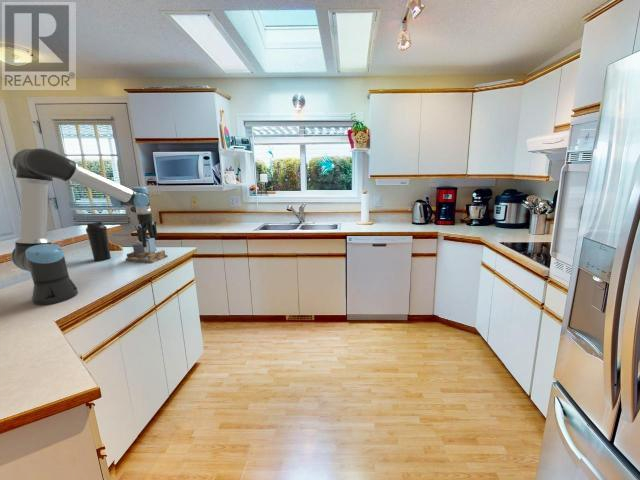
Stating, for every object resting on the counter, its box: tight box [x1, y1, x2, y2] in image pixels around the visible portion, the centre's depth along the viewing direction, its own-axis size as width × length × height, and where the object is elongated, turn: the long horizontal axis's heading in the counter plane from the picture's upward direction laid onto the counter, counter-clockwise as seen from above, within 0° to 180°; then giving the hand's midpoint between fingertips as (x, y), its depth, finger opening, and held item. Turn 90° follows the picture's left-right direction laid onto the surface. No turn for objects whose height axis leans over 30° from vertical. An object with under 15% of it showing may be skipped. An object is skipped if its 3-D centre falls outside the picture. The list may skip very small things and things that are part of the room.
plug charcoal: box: [132, 240, 145, 257], centre depth 183 cm, size 4×4×10 cm
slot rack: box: [125, 249, 169, 264], centre depth 184 cm, size 12×20×4 cm, turn 75°
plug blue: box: [146, 234, 158, 253], centre depth 181 cm, size 4×4×10 cm
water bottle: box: [85, 221, 112, 262], centre depth 182 cm, size 10×10×23 cm
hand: (150, 250), depth 182 cm, fingers closed on plug blue, 4 cm apart
